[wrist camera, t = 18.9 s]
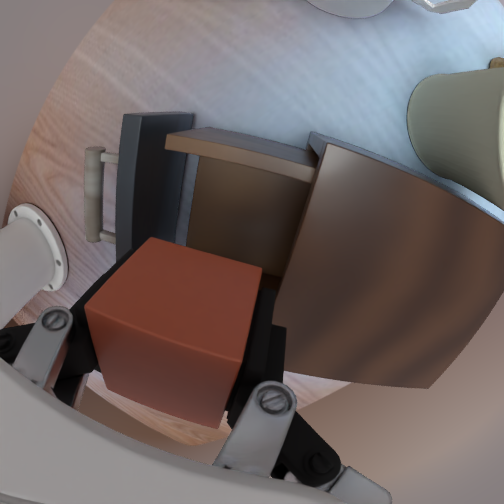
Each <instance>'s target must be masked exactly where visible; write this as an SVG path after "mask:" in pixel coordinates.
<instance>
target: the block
mask: <svg viewBox="0 0 504 504" xmlns="http://www.w3.org/2000/svg"><path fill="white" fill-rule="evenodd" d="M261 274H262V268H261V267H257V266H253V265H250V264H246V263H243V262H239V261H235V260H232V259H228V258H224V257H221V256H217V255H214V254H210V253H206V252H203V251H199V250H196V249H192V248H189V247H185V246H182V245H178V244H175V243H171V242H168V241H164V240H161V239H157V238H154V237H150V238H149V239H148V240H147V241H146V242H145V243H144V244H143V245H142V246H141V247H140V248H139V249H138V250H137V251H136V252H135V253H134V254H133V255H132V256H131V257H130V258H129V259H128V260H127V261H126V262H125V263H124V264H123V265H122V266H121V267H120V268H119V269H118V270H117V271H116V272H115V273H114V274H113V275H112V276H111V277H110V278H109V279H108V280H107V281H106V283H105V284H104V285H103V286H102V287H101V288H100V289H99V290H98V291H97V292H96V293H95V294H94V295H93V297H92V298H91V299H90V300H89V301H88V302H87V303H86V304H85V307H84V308H85V313H86V317H87V322H88V326H89V330H90V334H91V338H92V342H93V345H94V349H95V353H96V356H97V359H98V363H99V366H100V369H101V372H102V375H103V379H104V381H105V384H106V387H107V389H108V390H110V391H113V392H115V393H117V394H119V395H121V396H124V397H126V398H128V399H131V400H133V401H135V402H138V403H140V404H143V405H145V406H148V407H150V408H153V409H155V410H158V411H161V412H164V413H166V414H169V415H172V416H175V417H178V418H181V419H184V420H187V421H191V422H194V423H197V424H201V425H204V426H208V427H211V428H215V429H218V428H219V425H220V423H221V420H222V417H223V414H224V412H225V409H226V406H227V403H228V401H229V398H230V395H231V392H232V389H233V387H234V384H235V381H236V378H237V375H238V372H239V370H240V367H241V364H242V361H243V356H244V352H245V347H246V343H247V338H248V334H249V329H250V325H251V320H252V316H253V311H254V307H255V302H256V297H257V293H258V288H259V284H260V279H261Z"/></svg>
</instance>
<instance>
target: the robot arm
mask: <svg viewBox="0 0 504 504" xmlns="http://www.w3.org/2000/svg"><path fill="white" fill-rule="evenodd" d="M136 251H137V250H134V249H130V250H129V251H128V252H127V253H126V254H125V255H124V256H122V257H121V258H120V259H119V260H118V261H117V262H116V263H115V264H114V265H113V266H112V267H111V268H110V269H109V270H108V271H107V272H106V273H105V274H103V275H102V276H101V277H100V278H99V279H98V280H97V281H96V282H95V283H94V284H93V285H92V286H91V287H90V288H89V289H88V290H87V291H86V292H85V293H84V295H83V296H82V297H81V298H80V299H79V300H78V301H77V302H76V303H75V304H74V305H73V306H72V307H71V309H70V310H69V309H67V308H65V307H63V306H52V307H50V308H47V309H46V310H44V311H43V312H42V313H41V315H40V316H39V318H38V319H37V321H36V323H32V324H26V325H21V326H15V327H9V328H4V329H2V328H3V327H4V326H5V325H6V324H7V323H8V322H9V321H10V320H11V319H12V318H13V317H14V316H15V315H16V314H17V313H18V312H19V311H20V310H21V309H22V308H23V307H24V306H25V305H26V304H27V303H28V302H29V301H30V300H31V299H32V298H33V297H34V296H35V295H36V294H37V293H38V292H39V291H40V290H41V289H43V290H46V291H56V290H58V289H59V288H60V287H61V286H62V285H63V284H64V283H65V281H66V278H67V273H68V265H67V257H66V253H65V249H64V247H63V244H62V241H61V239H60V237H59V234H58V232H57V231H56V229H55V227H54V225H53V224H52V222H51V221H50V220H49V218H48V217H47V216H46V215H45V214H44V213H43V212H42V211H41V210H40V209H39V208H37V207H36V206H34V205H32V204H28V203H24V204H20V205H19V206H17V207H15V208H14V209H13V210H12V211H11V213H10V215H9V219H8V225H7V226H5V227H4V228H2V229H0V504H392V497H391V494H390V493H389V492H388V491H387V490H386V489H384V488H383V487H381V486H379V485H378V484H376V483H375V482H373V481H372V480H370V479H368V478H367V477H365V476H364V475H362V474H361V473H359V472H357V471H356V470H355V469H353V468H352V467H350V466H348V467H345V466H344V465H342V464H341V461H340V458H339V456H338V454H337V453H336V452H335V451H334V450H333V449H332V448H331V447H330V446H329V445H328V444H327V443H326V442H325V441H324V440H323V439H322V438H321V437H320V436H319V435H318V434H317V433H316V432H315V431H314V429H312V427H311V426H310V425H309V424H308V423H307V422H306V421H305V420H304V419H303V418H302V417H301V416H300V415H299V414H298V413H297V412H296V407H297V399H296V395H295V394H294V392H293V391H292V390H291V389H290V388H289V387H288V386H287V385H285V384H283V372H284V361H285V348H286V335H287V328H286V327H282V326H278V325H274V324H272V319H273V311H274V303H275V295H276V290H272V289H268V288H265V287H262V289H261V290H258V293H257V297H256V302H255V307H254V311H253V316H252V320H251V325H250V329H249V334H248V338H247V343H246V347H245V352H244V356H243V361H242V364H241V367H240V370H239V372H238V375H237V378H236V381H235V384H234V387H233V389H232V392H231V395H230V398H229V401H228V403H227V406H226V409H225V410H226V411H228V415H227V419H228V421H227V423H228V425H229V426H230V427H231V429H232V431H231V433H230V435H229V436H228V438H227V440H226V442H225V444H224V445H223V447H222V449H221V451H220V452H219V454H218V456H217V458H216V459H215V461H214V463H213V464H212V465H209V464H205V463H201V462H198V461H194V460H191V459H188V458H184V457H181V456H178V455H175V454H172V453H169V452H166V451H163V450H161V449H158V448H155V447H152V446H150V445H147V444H145V443H142V442H140V441H137V440H135V439H133V438H130V437H128V436H126V435H124V434H121V433H119V432H117V431H115V430H113V429H111V428H109V427H106V426H104V425H102V424H100V423H99V422H97V421H95V420H93V419H91V418H89V417H87V416H85V415H84V414H82V413H79V412H78V410H79V405H80V402H81V399H82V396H83V392H84V389H85V386H86V383H87V380H88V377H89V373H91V372H92V371H93V370H96V371H98V372H100V373H102V372H101V369H100V366H99V363H98V359H97V356H96V353H95V349H94V345H93V342H92V338H91V334H90V330H89V326H88V322H87V317H86V313H85V308H84V307H85V304H86V303H87V302H88V301H89V300H90V299H91V298H92V297H93V295H94V294H95V293H96V292H97V291H98V290H99V289H100V288H101V287H102V286H103V285H104V284H105V283H106V281H107V280H108V279H109V278H110V277H111V276H112V275H113V274H114V273H115V272H116V271H117V270H118V269H119V268H120V267H121V266H122V265H123V264H124V263H125V262H126V261H127V260H128V259H129V258H130V257H131V256H132V255H133V254H134V253H135V252H136ZM269 476H271V477H272V478H269Z"/></svg>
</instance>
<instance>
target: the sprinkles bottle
mask: <svg viewBox="0 0 504 504" xmlns="http://www.w3.org/2000/svg"><path fill="white" fill-rule="evenodd" d="M501 67H504V58H500V57H497V58H494V59H492V61H491V63H490V69H491V68H501Z"/></svg>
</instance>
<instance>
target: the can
mask: <svg viewBox="0 0 504 504" xmlns="http://www.w3.org/2000/svg"><path fill="white" fill-rule="evenodd" d="M407 126H408V132H409V136H410V140H411V143H412V145H413V148H414V150H415V152H416V154H417V155H418V157H419V158H420V160H421V161H422V162H423V163H424V165H425V166H426V167H427V168H428V169H429V170H431V171H432V172H433V173H435V174H436V175H438V176H440V177H443V178H445V179H450V180H452V181H454V182H456V183H458V184H460V185H462V186H464V187H466V188H467V189H469V190H471V191H473V192H475V193H476V194H478V195H480V196H481V197H483V198H485V199H486V200H488V201H489V202H491V203H493V204H494V205H496V206H497V207H499V208H500V209H502V210H503V211H504V67H501V68H491V69H483V70H475V71H467V72H460V73H453V74H435V75H432V76H429V77H427V78H425V79H424V80H423V81H421V82H420V83H419V84H418V85H417V87H416V88H415V90H414V91H413V93H412V95H411V98H410V101H409V105H408V111H407Z"/></svg>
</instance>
